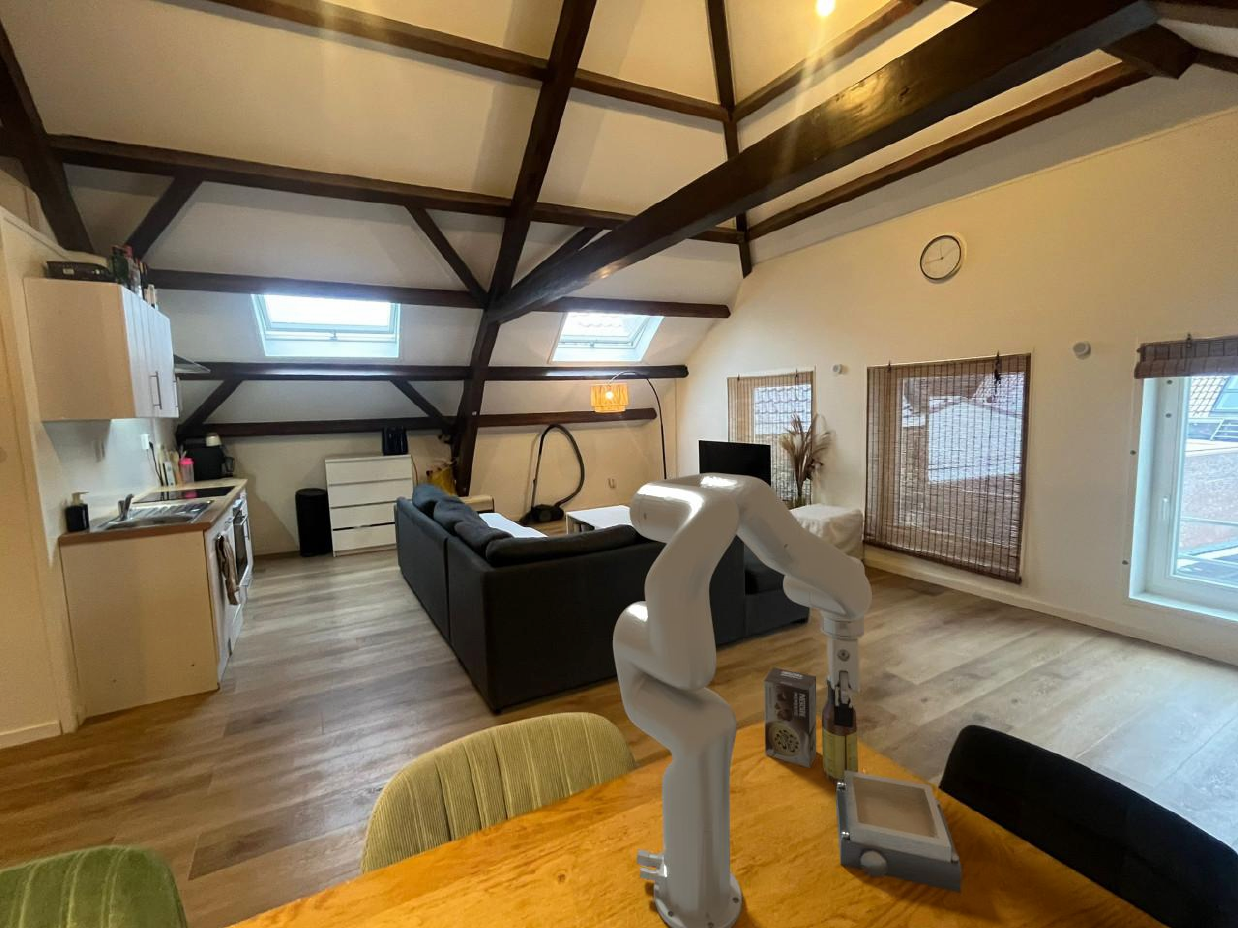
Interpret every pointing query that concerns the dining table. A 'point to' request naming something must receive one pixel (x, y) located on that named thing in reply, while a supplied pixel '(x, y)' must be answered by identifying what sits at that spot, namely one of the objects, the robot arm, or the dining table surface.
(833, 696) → the sauce bottle
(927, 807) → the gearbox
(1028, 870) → the dining table surface
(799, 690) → the coffee box
